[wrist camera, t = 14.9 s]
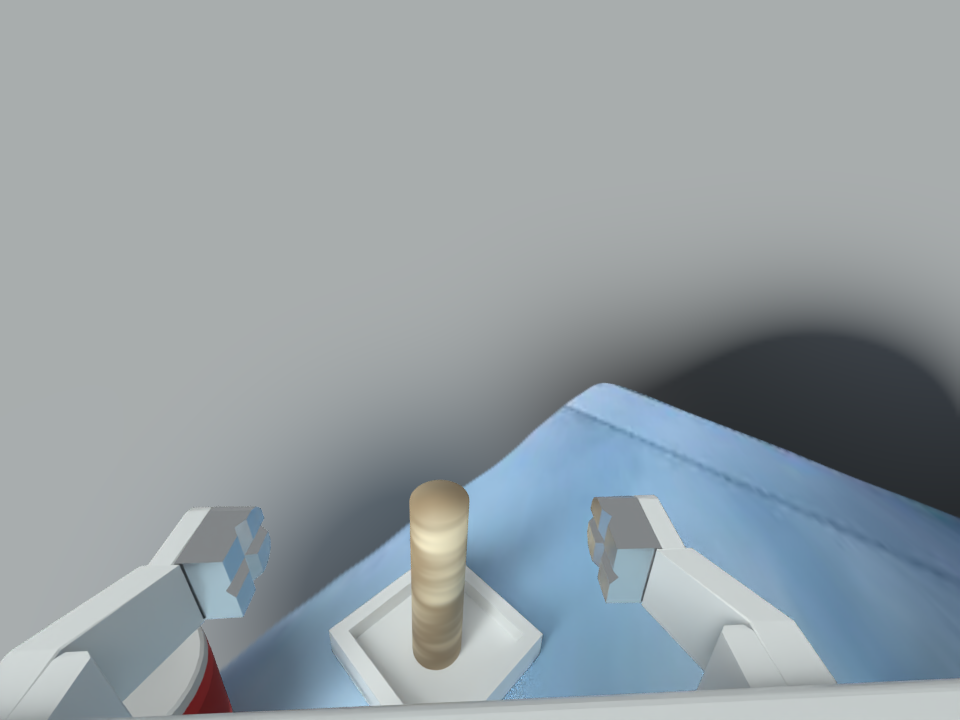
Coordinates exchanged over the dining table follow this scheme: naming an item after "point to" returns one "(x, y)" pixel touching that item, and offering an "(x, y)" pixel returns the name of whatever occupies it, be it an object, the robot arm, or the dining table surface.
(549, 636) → the dining table surface
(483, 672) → the tray
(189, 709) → the canned food
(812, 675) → the robot arm
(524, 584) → the dining table surface
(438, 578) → the dowel
